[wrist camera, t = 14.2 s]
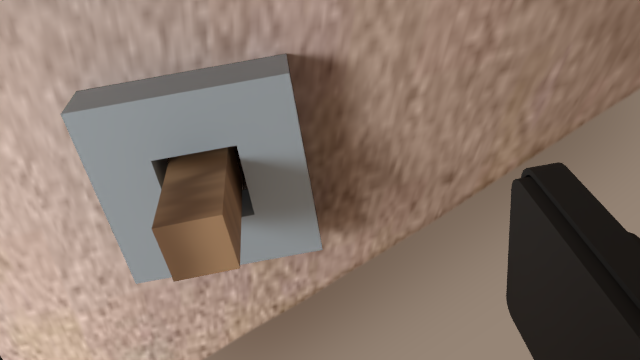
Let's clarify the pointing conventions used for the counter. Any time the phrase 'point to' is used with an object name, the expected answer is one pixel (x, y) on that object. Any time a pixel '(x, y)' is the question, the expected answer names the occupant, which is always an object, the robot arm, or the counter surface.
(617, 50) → the counter surface
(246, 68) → the socket block
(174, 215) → the square bit
